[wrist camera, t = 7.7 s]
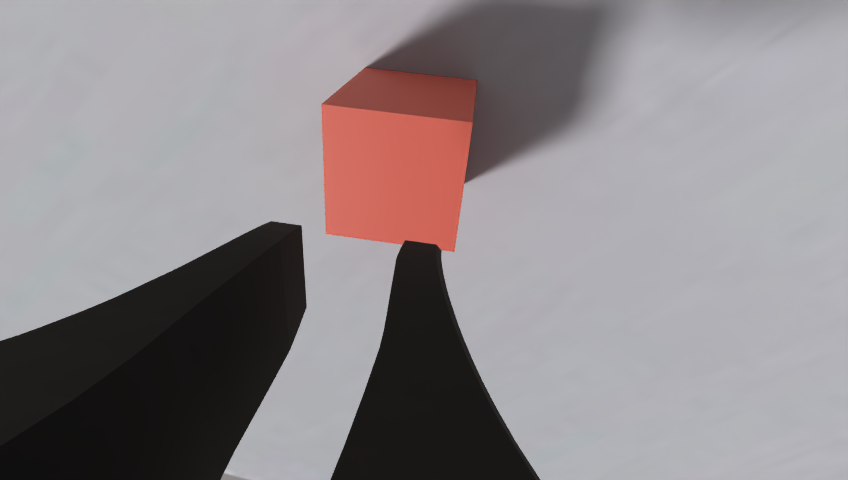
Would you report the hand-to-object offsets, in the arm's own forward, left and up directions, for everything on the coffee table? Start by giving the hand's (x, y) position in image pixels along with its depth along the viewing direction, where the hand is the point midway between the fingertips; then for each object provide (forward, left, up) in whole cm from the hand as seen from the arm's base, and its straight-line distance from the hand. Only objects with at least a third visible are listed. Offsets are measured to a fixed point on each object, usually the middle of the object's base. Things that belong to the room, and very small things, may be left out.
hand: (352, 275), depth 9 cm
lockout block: (0, 0, -10) cm, 10 cm away
